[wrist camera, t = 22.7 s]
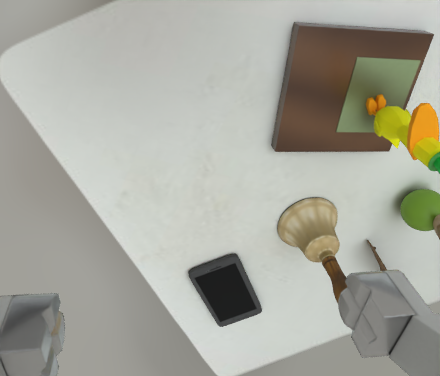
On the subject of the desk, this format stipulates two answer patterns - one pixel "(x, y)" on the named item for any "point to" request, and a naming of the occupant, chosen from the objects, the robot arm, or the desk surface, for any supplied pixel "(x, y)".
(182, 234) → the desk surface
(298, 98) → the board
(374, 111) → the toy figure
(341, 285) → the hand bell
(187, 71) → the desk surface
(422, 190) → the snail figurine
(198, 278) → the cell phone
